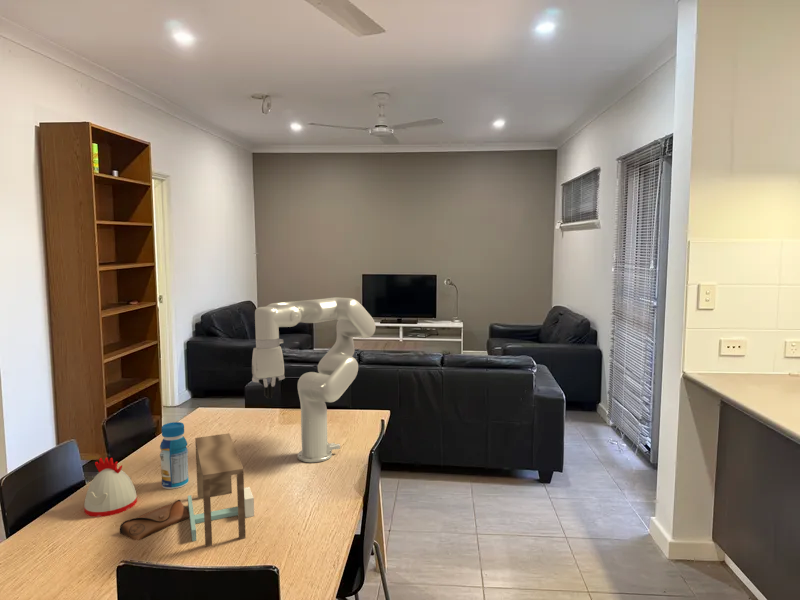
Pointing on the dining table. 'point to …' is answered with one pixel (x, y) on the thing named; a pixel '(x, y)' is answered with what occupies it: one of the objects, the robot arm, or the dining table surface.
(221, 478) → the tunnel
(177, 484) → the beverage bottle
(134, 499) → the kitchen timer
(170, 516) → the sunglasses case
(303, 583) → the dining table surface
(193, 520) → the mint t-bar
